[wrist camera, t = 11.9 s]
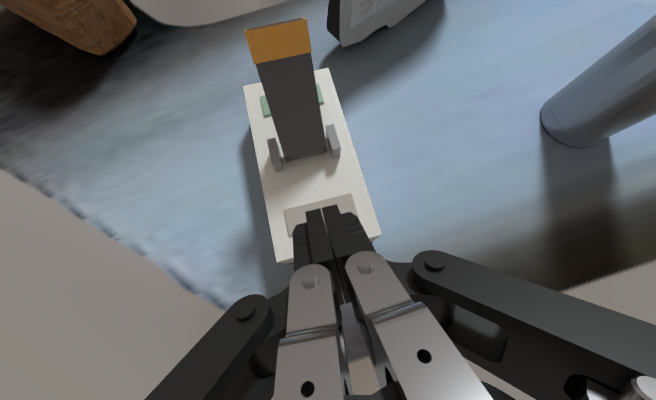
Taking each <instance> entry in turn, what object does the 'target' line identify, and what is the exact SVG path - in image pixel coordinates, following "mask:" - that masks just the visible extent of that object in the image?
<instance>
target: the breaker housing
mask: <svg viewBox="0 0 656 400" xmlns="http://www.w3.org/2000/svg"><path fill="white" fill-rule="evenodd" d="M314 76H315V81H316V87H317V93H318V99H319V105H320V110H321V116H322V122H323V128H324V134H325V140H326V145H327V153H323V154H318V155H314V156H310V157H306V158H302V159H297V160H293V161H289V162H286V161H285V158H284V155H283V151H282V148H281V145H280V142H279V138H278V135H277V132H276V129H275V125H274V122H273V119H272V116H271V112H270V109H269V106H268V103H267V99H266V96H265V93H264V90H263V86H262V83H261V82H260V83H255V84H251V85H246V86H243V89H244V94H245V99H246V104H247V110H248V115H249V120H250V125H251V131H252V136H253V141H254V146H255V152H256V157H257V162H258V167H259V173H260V178H261V183H262V188H263V194H264V199H265V204H266V209H267V215H268V220H269V225H270V230H271V236H272V241H273V246H274V251H275V257H276V262H278V263H284V264H288V263H292V262H294V255H293V238H292V232H293V230H294V228H295V226H296V225H298V224H302V223H306V222H307V220H306V214H305V212H306V211H310V210H315V209H319V208H320V209H321V213H322V216H323V212H322V208H323V207H327V206H331V205H335V204H337V206H338V209H339V211H340V213H341V214H343V213H347V212H351V213H353V214H354V215H356V216H358V218H359V220H360V222H361V225H362V226H363V228H364V230H365V232H366V234H367V236H368V238H369V240H370V242H372V241H374V240H375V239H377V238H378V237H379V236H381V235H382V234H381V231H380V228H379V225H378V221H377V218H376V215H375V212H374V209H373V206H372V203H371V200H370V196H369V193H368V190H367V187H366V184H365V181H364V178H363V174H362V171H361V168H360V165H359V162H358V159H357V156H356V152H355V149H354V146H353V143H352V140H351V137H350V134H349V131H348V127H347V124H346V121H345V118H344V115H343V112H342V109H341V105H340V102H339V99H338V96H337V93H336V90H335V87H334V84H333V80H332V77H331V74H330V71H329V68H324V69H319V70H315V71H314ZM323 220H324V217H323ZM324 224H325V221H324ZM325 227H326V226H325ZM326 231H327V230H326Z"/></svg>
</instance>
